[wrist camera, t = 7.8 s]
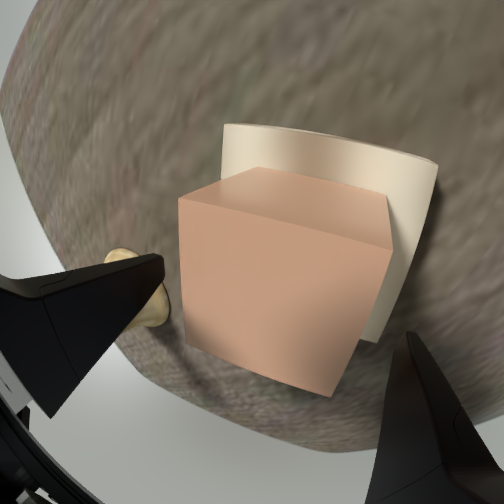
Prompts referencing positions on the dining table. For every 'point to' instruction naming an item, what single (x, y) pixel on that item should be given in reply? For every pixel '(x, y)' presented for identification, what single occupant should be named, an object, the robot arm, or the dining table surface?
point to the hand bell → (157, 304)
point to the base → (350, 173)
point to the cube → (282, 272)
